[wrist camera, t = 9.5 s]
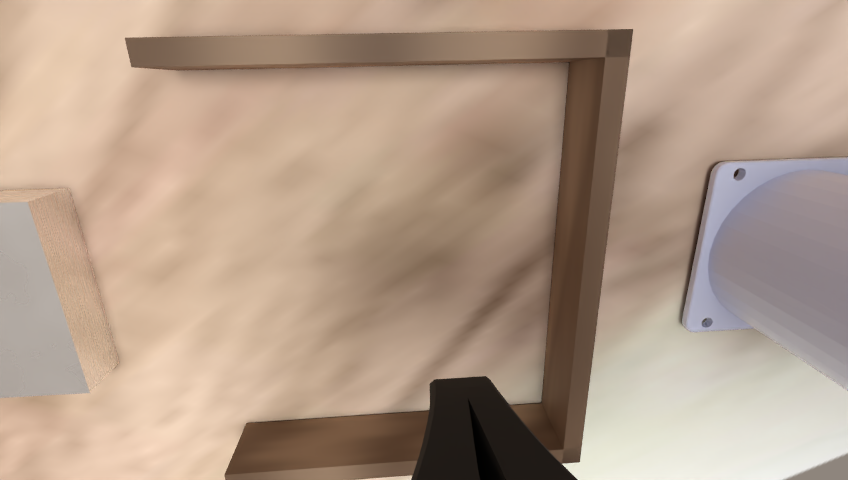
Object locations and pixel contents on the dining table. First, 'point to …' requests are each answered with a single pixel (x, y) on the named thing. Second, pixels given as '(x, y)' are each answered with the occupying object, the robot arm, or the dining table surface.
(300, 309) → the dining table surface
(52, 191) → the cover plate
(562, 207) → the brown u-shaped frame
